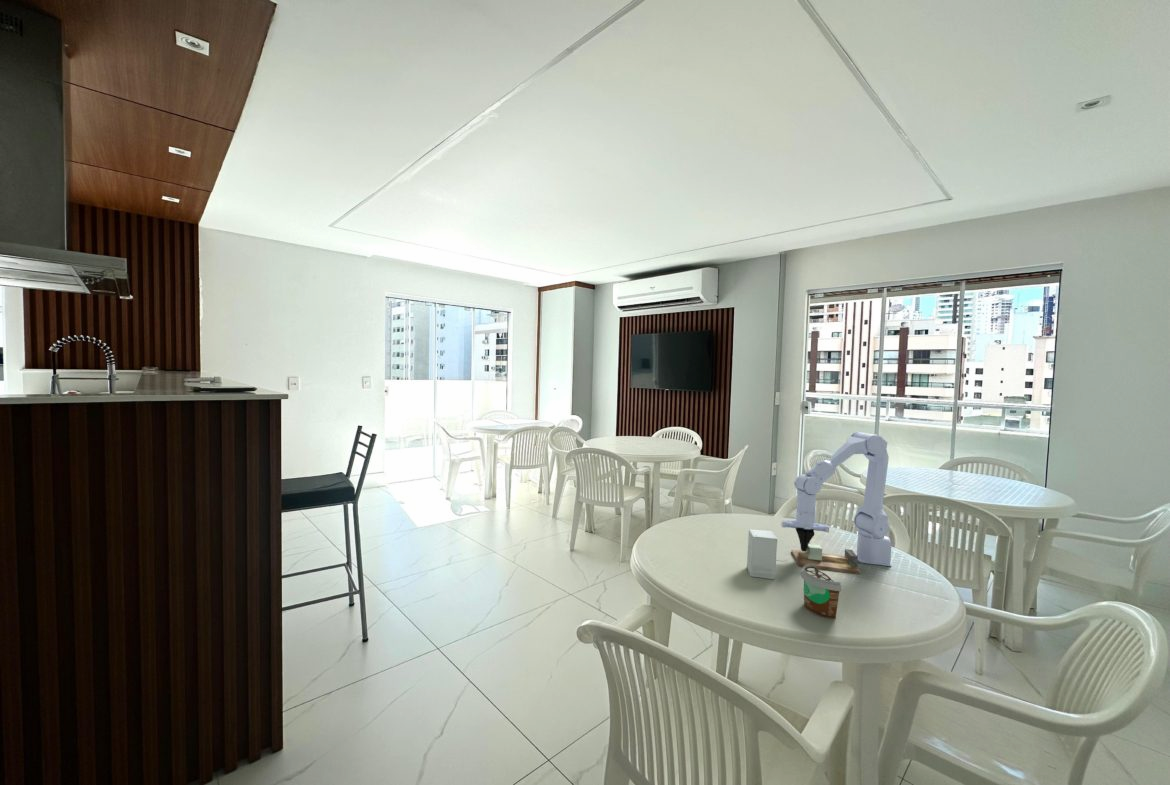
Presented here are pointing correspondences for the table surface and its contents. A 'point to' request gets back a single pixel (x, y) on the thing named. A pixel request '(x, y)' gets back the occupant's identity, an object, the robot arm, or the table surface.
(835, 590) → the food container
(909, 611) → the table surface
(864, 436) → the robot arm
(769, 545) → the supplement box
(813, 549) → the block
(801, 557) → the track board
